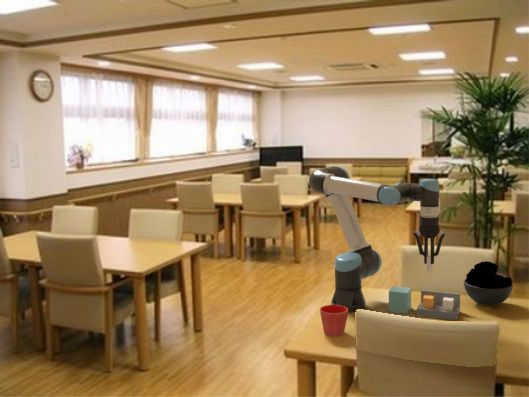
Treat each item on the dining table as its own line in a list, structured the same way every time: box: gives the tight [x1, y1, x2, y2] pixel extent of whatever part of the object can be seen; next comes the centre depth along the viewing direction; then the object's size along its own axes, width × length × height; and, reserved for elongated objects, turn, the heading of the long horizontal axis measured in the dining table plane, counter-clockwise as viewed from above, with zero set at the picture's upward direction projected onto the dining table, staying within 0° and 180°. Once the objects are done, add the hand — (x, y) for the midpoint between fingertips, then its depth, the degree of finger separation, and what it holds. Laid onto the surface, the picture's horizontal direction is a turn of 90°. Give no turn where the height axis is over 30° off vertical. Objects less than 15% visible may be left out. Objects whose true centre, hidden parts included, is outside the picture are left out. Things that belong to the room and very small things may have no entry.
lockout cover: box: [388, 285, 412, 314], centre depth 236 cm, size 8×8×9 cm
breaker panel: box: [416, 289, 461, 321], centre depth 230 cm, size 16×12×8 cm
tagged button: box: [423, 295, 434, 308], centre depth 231 cm, size 4×4×5 cm
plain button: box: [443, 297, 454, 311], centre depth 228 cm, size 4×4×5 cm
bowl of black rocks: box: [463, 260, 514, 307], centre depth 239 cm, size 20×20×19 cm
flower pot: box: [319, 304, 349, 337], centre depth 212 cm, size 11×11×10 cm
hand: (429, 271), depth 229 cm, fingers closed
